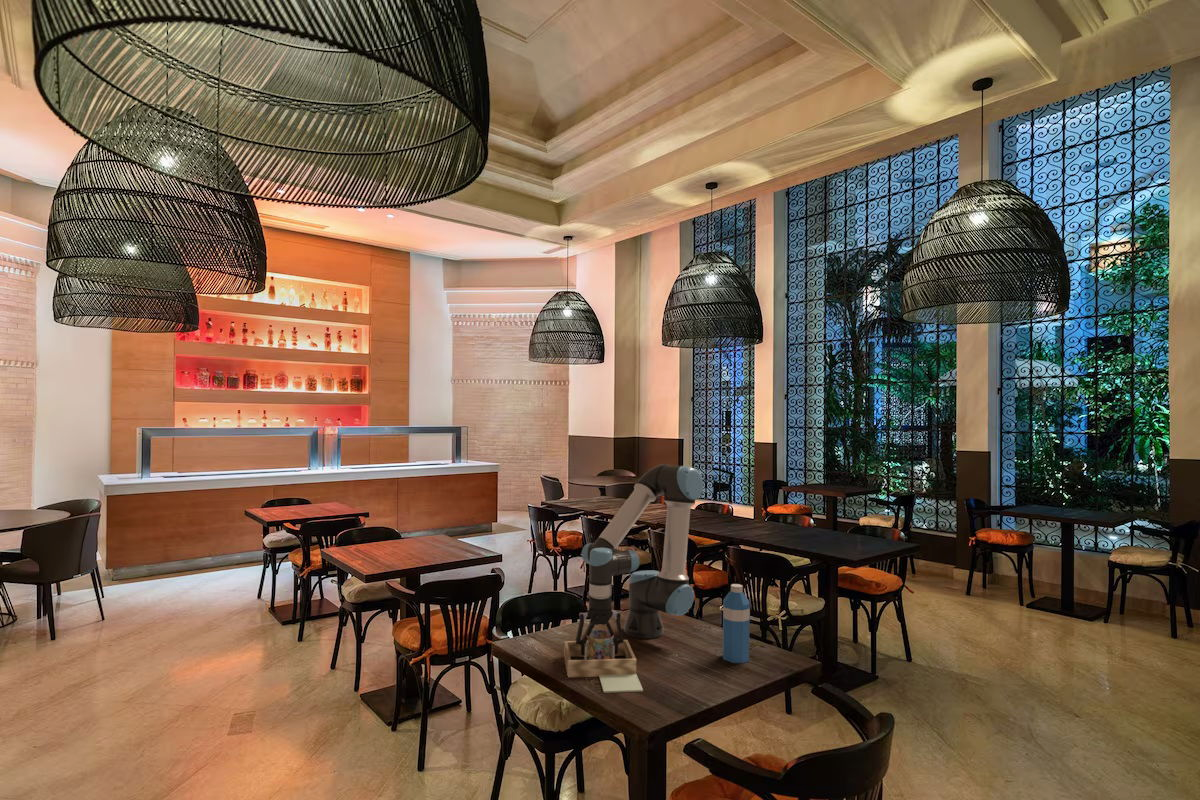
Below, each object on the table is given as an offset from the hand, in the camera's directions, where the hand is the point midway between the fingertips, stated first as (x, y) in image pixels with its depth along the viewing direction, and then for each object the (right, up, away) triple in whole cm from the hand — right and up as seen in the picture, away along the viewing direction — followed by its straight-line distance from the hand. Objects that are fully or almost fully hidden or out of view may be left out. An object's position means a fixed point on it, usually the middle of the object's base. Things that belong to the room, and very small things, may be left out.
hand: (599, 664), depth 215 cm
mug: (0, -1, 0) cm, 1 cm away
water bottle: (+47, -2, +9) cm, 48 cm away
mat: (+7, 0, -14) cm, 16 cm away
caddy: (0, 0, 0) cm, 0 cm away
